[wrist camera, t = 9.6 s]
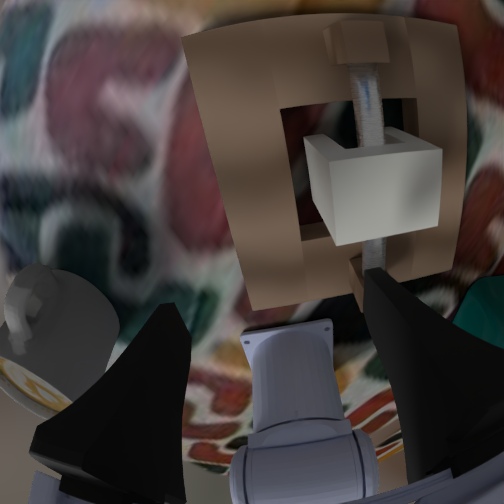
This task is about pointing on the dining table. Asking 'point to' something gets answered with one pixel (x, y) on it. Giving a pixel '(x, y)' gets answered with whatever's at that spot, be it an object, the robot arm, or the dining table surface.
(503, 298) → the teal bottle
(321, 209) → the grey u-slotted block
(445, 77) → the shelf
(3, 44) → the dining table surface
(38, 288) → the coffee mug
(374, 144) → the hook bar
